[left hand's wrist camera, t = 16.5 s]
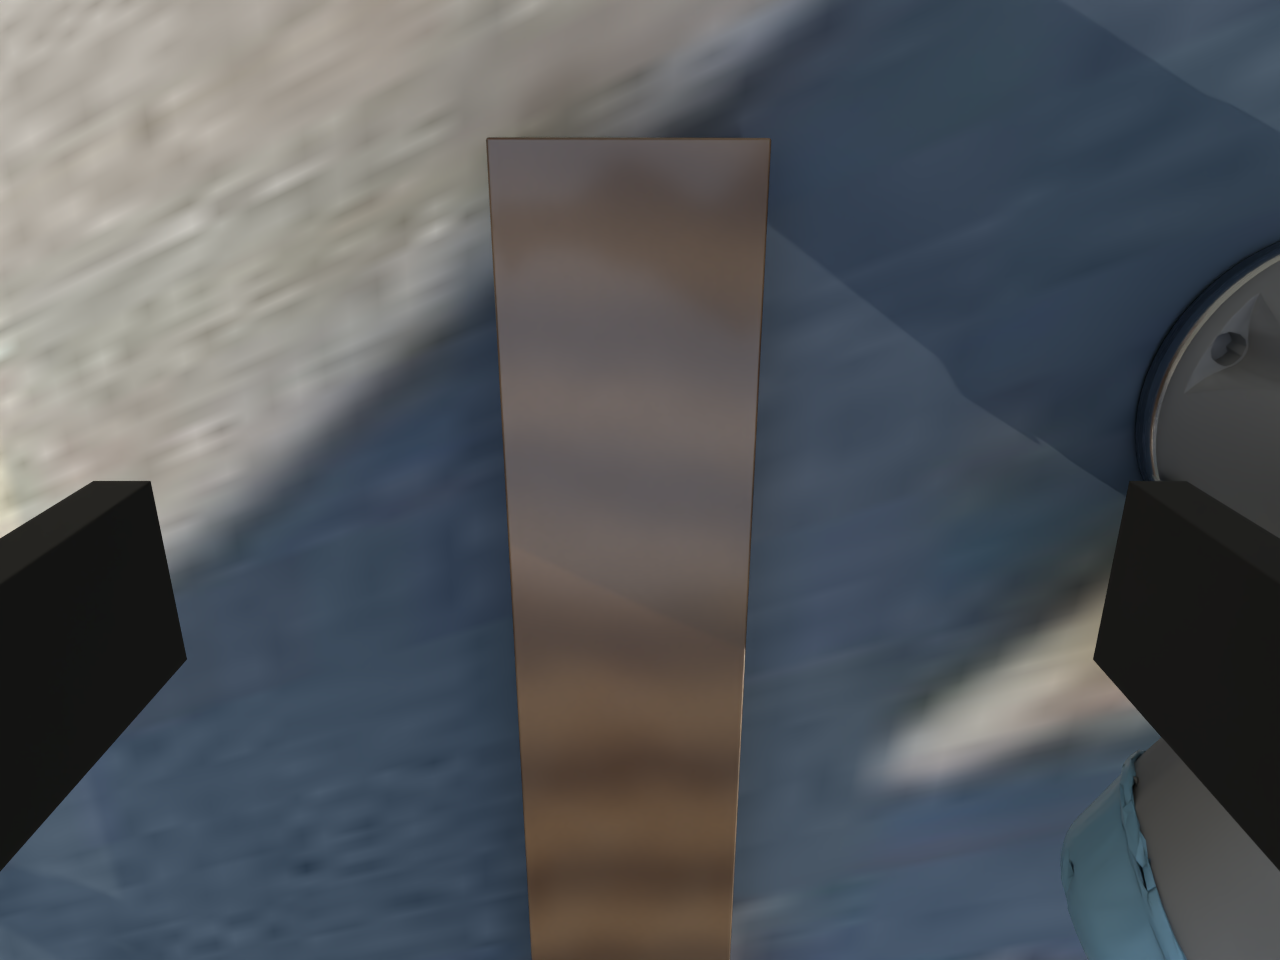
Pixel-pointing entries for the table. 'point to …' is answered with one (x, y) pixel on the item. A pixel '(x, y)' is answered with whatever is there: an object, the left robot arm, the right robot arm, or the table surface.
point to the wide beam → (629, 524)
